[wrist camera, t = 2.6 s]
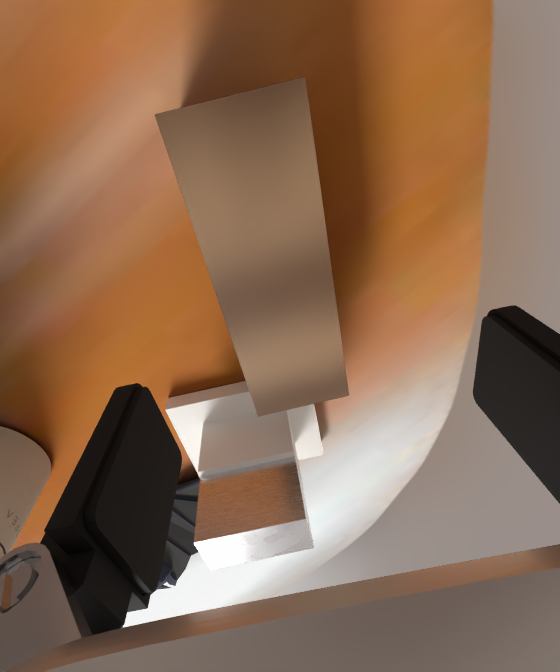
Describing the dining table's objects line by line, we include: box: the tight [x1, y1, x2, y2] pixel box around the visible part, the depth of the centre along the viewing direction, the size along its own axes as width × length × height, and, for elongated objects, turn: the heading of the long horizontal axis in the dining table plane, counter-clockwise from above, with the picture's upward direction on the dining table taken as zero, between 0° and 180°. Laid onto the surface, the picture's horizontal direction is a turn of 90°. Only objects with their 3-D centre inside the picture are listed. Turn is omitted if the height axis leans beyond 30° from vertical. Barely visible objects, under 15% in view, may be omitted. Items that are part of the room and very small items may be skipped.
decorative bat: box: [150, 478, 200, 595], centre depth 32 cm, size 30×4×10 cm
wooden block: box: [155, 77, 349, 417], centre depth 18 cm, size 14×5×6 cm, turn 12°
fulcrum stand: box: [165, 381, 324, 570], centre depth 23 cm, size 8×10×9 cm
